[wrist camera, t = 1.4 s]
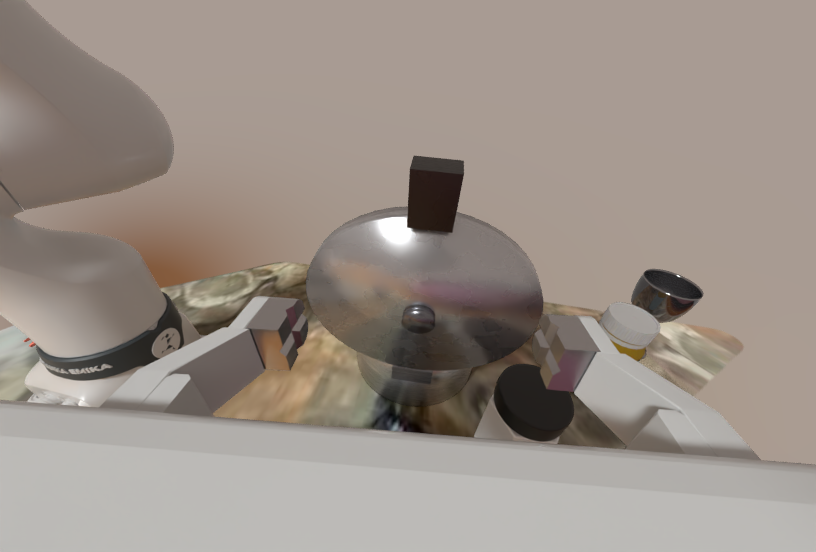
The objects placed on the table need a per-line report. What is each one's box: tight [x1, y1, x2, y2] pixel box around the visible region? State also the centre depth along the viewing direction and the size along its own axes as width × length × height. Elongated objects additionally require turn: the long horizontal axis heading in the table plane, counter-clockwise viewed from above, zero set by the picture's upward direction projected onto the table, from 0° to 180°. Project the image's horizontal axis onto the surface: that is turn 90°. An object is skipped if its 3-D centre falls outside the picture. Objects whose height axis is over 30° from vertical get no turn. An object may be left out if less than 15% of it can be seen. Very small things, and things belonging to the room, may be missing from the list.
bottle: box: [597, 302, 660, 362], centre depth 43 cm, size 7×7×15 cm
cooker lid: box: [306, 156, 543, 371], centre depth 25 cm, size 21×24×2 cm
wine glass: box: [631, 269, 703, 359], centre depth 51 cm, size 8×8×15 cm
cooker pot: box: [357, 351, 472, 407], centre depth 46 cm, size 27×21×12 cm
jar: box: [474, 364, 574, 444], centre depth 36 cm, size 9×8×12 cm
